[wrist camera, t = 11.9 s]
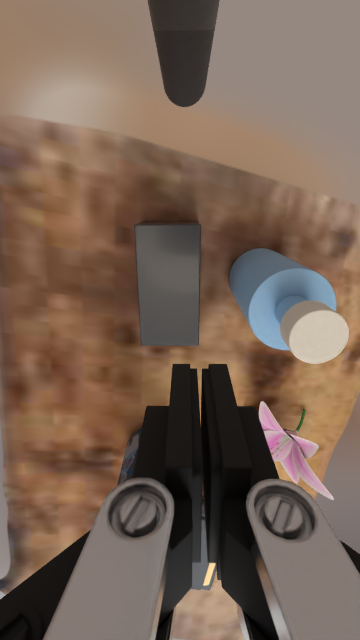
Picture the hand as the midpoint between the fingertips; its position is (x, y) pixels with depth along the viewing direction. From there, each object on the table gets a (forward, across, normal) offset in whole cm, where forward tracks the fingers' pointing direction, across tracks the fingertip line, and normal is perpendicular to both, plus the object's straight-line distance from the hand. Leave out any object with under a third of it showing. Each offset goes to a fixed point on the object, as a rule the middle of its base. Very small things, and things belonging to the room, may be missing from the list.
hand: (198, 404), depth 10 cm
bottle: (+25, -3, +2) cm, 25 cm away
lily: (+25, -11, +21) cm, 35 cm away
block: (+26, +2, +2) cm, 26 cm away
